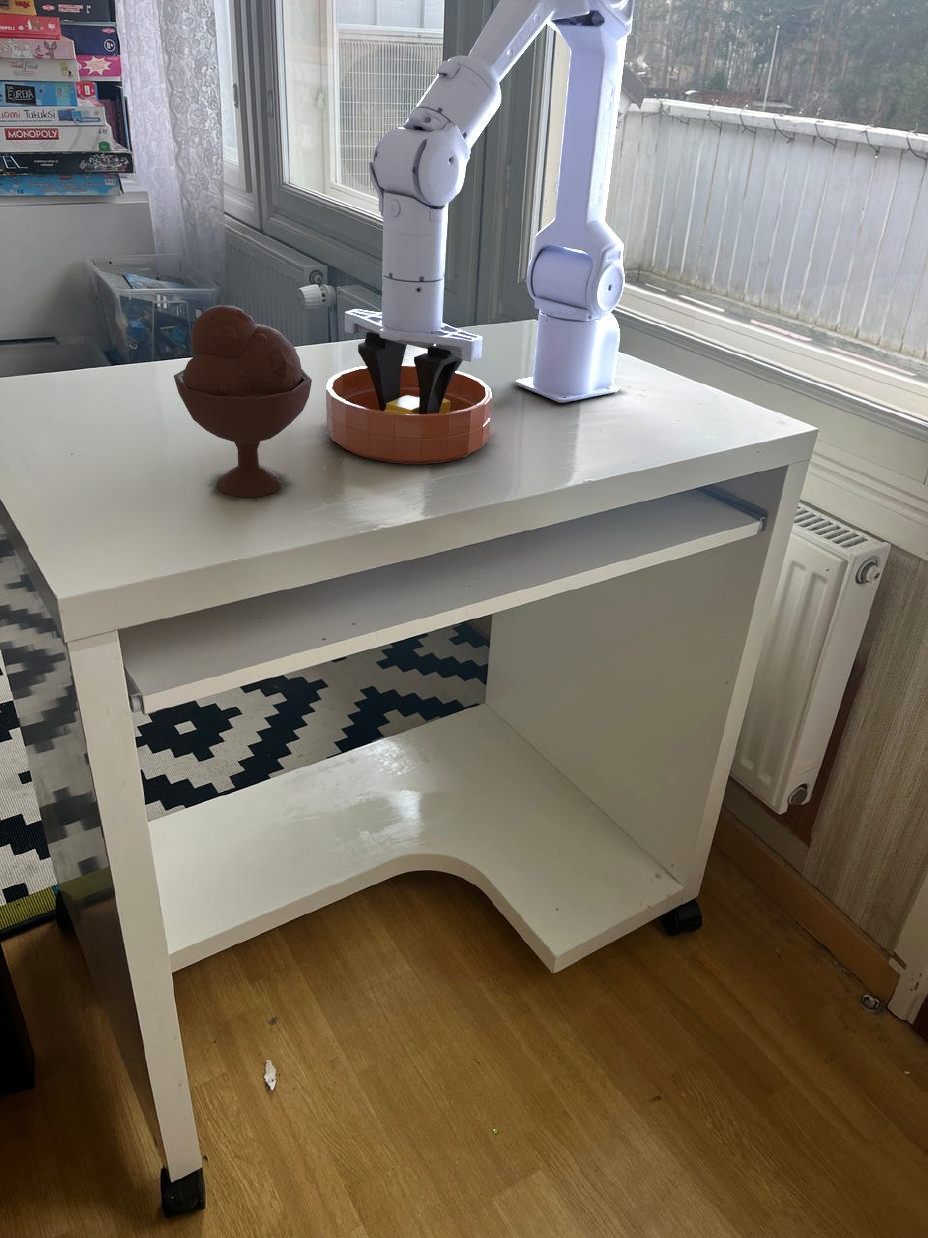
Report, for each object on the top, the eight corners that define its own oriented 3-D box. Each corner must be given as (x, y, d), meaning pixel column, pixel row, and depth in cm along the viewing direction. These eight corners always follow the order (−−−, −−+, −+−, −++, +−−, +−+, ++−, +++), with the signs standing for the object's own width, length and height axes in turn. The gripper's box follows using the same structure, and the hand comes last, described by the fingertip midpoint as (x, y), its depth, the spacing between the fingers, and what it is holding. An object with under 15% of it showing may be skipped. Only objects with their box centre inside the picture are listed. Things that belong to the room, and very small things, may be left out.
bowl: (425, 401, 105) (427, 356, 102) (520, 448, 94) (524, 399, 92) (297, 425, 96) (296, 376, 93) (386, 479, 85) (387, 426, 83)
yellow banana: (423, 415, 99) (425, 387, 98) (453, 423, 98) (455, 394, 96) (363, 442, 91) (363, 412, 90) (394, 451, 90) (395, 421, 88)
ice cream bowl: (199, 517, 76) (182, 329, 69) (176, 466, 85) (159, 294, 77) (326, 503, 80) (324, 323, 73) (292, 455, 89) (287, 290, 81)
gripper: (323, 268, 87) (325, 411, 94) (456, 295, 81) (448, 446, 88) (369, 258, 92) (368, 395, 99) (498, 283, 86) (486, 427, 93)
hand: (408, 418), depth 94 cm, fingers open, 4 cm apart
